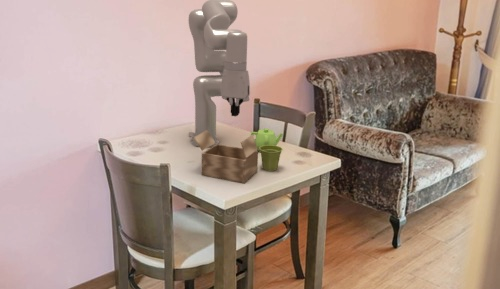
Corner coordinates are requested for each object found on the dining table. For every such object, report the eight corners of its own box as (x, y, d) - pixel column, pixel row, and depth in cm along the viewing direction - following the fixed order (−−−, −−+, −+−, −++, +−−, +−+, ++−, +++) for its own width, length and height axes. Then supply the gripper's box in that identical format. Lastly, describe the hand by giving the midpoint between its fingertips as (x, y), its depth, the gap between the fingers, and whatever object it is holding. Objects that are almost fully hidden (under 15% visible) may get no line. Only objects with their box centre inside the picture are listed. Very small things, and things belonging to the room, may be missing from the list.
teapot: (265, 155, 215) (267, 134, 212) (247, 149, 222) (248, 128, 219) (283, 150, 223) (284, 129, 220) (264, 144, 230) (265, 124, 227)
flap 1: (203, 150, 188) (202, 150, 188) (215, 142, 197) (214, 143, 197) (194, 137, 188) (193, 137, 188) (207, 130, 197) (206, 130, 197)
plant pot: (257, 164, 204) (258, 144, 201) (279, 164, 205) (280, 144, 202) (259, 172, 195) (260, 152, 192) (283, 172, 196) (284, 152, 193)
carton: (201, 175, 190) (201, 153, 187) (216, 165, 201) (216, 144, 198) (244, 183, 183) (245, 160, 181) (257, 172, 195) (258, 150, 192)
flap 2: (256, 149, 191) (257, 149, 191) (245, 157, 182) (246, 157, 181) (251, 135, 190) (252, 134, 190) (240, 142, 181) (241, 142, 180)
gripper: (213, 66, 178) (212, 115, 184) (251, 69, 173) (249, 120, 178) (222, 63, 185) (221, 111, 190) (259, 67, 179) (257, 115, 185)
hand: (235, 115), depth 184 cm, fingers closed
